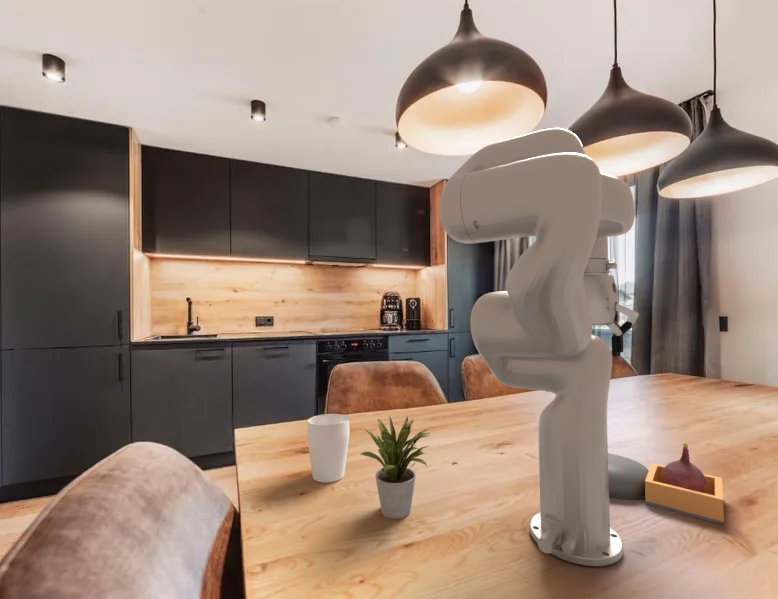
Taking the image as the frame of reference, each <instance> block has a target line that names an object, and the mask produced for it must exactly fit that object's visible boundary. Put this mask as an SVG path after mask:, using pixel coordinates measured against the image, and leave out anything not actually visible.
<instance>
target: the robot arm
mask: <svg viewBox="0 0 778 599" xmlns="http://www.w3.org/2000/svg"><path fill="white" fill-rule="evenodd" d="M438 205H439V207H438V208H439V209H438V210H439V218H440V223H441V225H442V228H443V230H444V231H445V233H446V234H447V236H449V237H450V238H451V239H452V240H453V241H455V242H456V243H460V244H467V245H469V244H479V243H480V244H481V243H489V242H496V241H503V240H511V239H512V240H514V239H520V238H528V237H536V240H535V241H534V242H533V243H532V244H531V245H530V246H529V247H528V248H526V250H524V252H523V253H522V254H521V255H520V256H519V257H518V259H517V260H516V261H515V263H514V264H513V266H512V268H511V269H510V270H509V273H508V275H507V277H506V281H505V287H506V290H502V291H499V290H498V291H492V292H488V293H485V294H483V295H482V296H480V297H479V298H477V300H476V301H475V303H474V304H473V307H472V308H471V309H472V310H471V312H470V332H471V336H472V337H471V338H472V341H473V344H474V347H475V348H476V350H477V352H478V354H479V355H480V356H481V359H482V360H483V361H484V363H485V364H486V365H487V366H486V367H488V368H489V370H490V371H491V373H492V375H493V376H494V378H495V379H496V380H497V381H498V382H499V383H500V384H502V385H503V386H505V387H511V388H514V389H522V390H532V391H533V390H534V391H543V392H547V393H553V394H554V395H555V397H554V399H553V400H552V401H550V402H549V403H548V404H547V405H546V406H545V407H544V409H543V410H541V413H540V415H539V418H538V423H537V424H538V425H537V428H538V429H537V431H538V457H539V458H538V463H539V464H538V466H539V467H538V468H539V470H538V471H539V473H538V474H539V504H540V505H539V508H540V511H539V512H538V513H536V514H535V515H533V517H532V518H531V519H530V522H529V530H530V535H531V537H532V538H533V540H534V541H535V543H537V546H538V548H539V550H540V551H541V552H542V553H545V554H551V555H553V556H555V557H557V558H559V559H561V560H564V561H566V562H568V563H572V564H576V565H582V566H586V567H588V566H589V567H606V566H609V565H613V564H615V563H617V562H619V561H620V560H621V559H622V557H623V555H624V544H623V540H622V539H621V537H620V535H619V534H618V533H617V532H616V531H615V530H614V529H612V527H611V517H610V510H611V509H610V497H609V475H608V453H609V451H608V450H609V445H608V444H609V442H608V404H609V403H608V402H609V392H610V384H611V377H612V368H613V357H615V358H617V357H620V356H621V353H623V352H624V335H625V334H626V333H627V332H628V331H630V330H631V329H632V328H634V325H635V323H636V322H637V320H638V318H639V317H640V313H639V312H638V311H636V310H633V309H631V308H629V307H626V306H624V305H621V304H619V297H618V290H617V284H616V280H615V277H614V275H610V273H611V272H610V271H612V270H616V269H617V266H618V265H617V262H616V261H615V262H613V261H610V260H609V247H608V246H609V245H608V244H609V243H608V242H609V241H608V237H616V236H622V235H625V234H627V233H629V231H631V229H632V227H633V225H634V222H635V217H636V213H635V212H636V210H635V202H634V197H633V193H632V190H631V187H630V185H629V184H628V183H627V182H626V181H625V180H624V179H622V178H620V177H617V176H615V175H611V174H606V173H603V172H600V169H599V167H598V165H597V163H596V162H595V161H594V160H593V158H591V157H590V156H588V155H587V154H586V152H585V149H584V146H583V144H582V141H581V140H580V138H579V137H578V136H577V134H575V133H573V132H572V131H571V130H569V129H567V128H565V129H564V128H561V127H553V128H546V129H540V130H537V131H533V132H529V133H527V134H522V135H519V136H515V137H513V138H508V139H505V140H501V141H497V142H494V143H490V144H488V145H486V146H484V147H482V148H480V149H479V150H477V151H476V152H475V153H474V154H473V155H471V156H470V157H469V158H468V159H467V160H466V161H465V162H464V163H463V164H462V165H461V166H460V167H459V168H458V169H457V170H456V171H455V172H454V173H453V174H452V175H451V176H450V178H448V180H447V181H446V183H445V185H444V187H443V189H442V191H441V194H440V198H439V204H438ZM620 313H621V314H622V315H625V316H627V317H626V318H627V319H626V321H625V322H624V323H622V324H621V325H620V324H619V322H620ZM593 326H607V328H609V329H610V330H611V332H613V335H611V347H610V345H609V344H608V343H607V341H605V339H603V338H602V337H600V336H598V335H596V334H593Z"/></svg>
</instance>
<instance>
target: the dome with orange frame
mask: <svg viewBox="0 0 778 599" xmlns="http://www.w3.org/2000/svg"><path fill="white" fill-rule="evenodd" d="M665 466H666V465H663V464H659V463H654V462H651V465H650V467H649V469H648V468H647V467H646V466H645V465H644V464H642V463H640V462H638V461H636V460H633V459H631V458H629V457H625V456H622V455H619V454H613V453H609V452H608V475H609V498H612V497H613V499H618V498H619V500H620V499H621V500H638V498H639V499H643V498H645V504H647V505H649V506H654V507H657V508H661V509H664V510H668V511H672V512H675V513H678V514H682V515H686V516H690V517H693V518H696V519H697V518H698V519H701V520H704V521H708V522H711V523H715V524H719V525H722V526H725V517H724V516H725V513H724V512H725V511H724V494H723V493H724V491H723V477H720V476H716V475H710V474H706V473H703V474H704V476H705V478H706V482H707V483H706V488H705V490H704V491H703V492H697V491H693V490H689V489H685V488H681V487H677V486H672V485H668V484H667V483H666V482H665V480H664V477H663V470H664V468H665Z"/></svg>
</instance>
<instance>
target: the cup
mask: <svg viewBox="0 0 778 599" xmlns="http://www.w3.org/2000/svg"><path fill="white" fill-rule="evenodd" d="M349 420H350V419H349V416H347V415H345V414H340V413H326V414H325V413H324V414H318V415H315V416H314V415H313V416H311V417H310V418H308V420H307V428H306V429H307V430H306V438H307V444H308V452H309V460H310V466H311V472H312V473H311V474H312V475H311V476H312V478H313V480H314V481H316V482H319V483H325V484H326V483H327V484H328V483H334V482H338V481H339V480H341V479H342V478H343V477H344V476H345V471H346V463H347V456H348V449H349V441H350V434H351V432H350V421H349Z"/></svg>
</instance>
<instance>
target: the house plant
mask: <svg viewBox="0 0 778 599" xmlns="http://www.w3.org/2000/svg"><path fill="white" fill-rule="evenodd" d="M388 420H389V425H390V426H389V428H390V432H389V430H388V428H387V427H386V426H385V424H384V423H383V421H382V420H381V419H379V418H377V422H378V427H379V428H378V429H379V432H380V436H379V435H378V434H376V435H374V433H373V432H371V431H370V430H367V429H364V430H365V431H366V432H367V433H368V434H369V435H370V437H371V440H373V442H374V443H375V445H376V446H377V447H378V448H379V449H377V450H378V454H379V455H380V457H379V455H377V454H376V453H374V452H371V451H362V452H361V453H360V454H359V455H361V456H364V457H368V458H372V459H375V460H377V461H378V462H379V463H380V464H381V465H382V468H380V469H378V470H377V471H376V473H375V480H376V487H377V492H378V498H379V499H378V500H379V504H380V510H381V513H382V515H383V516H384V517H386V518H389V519H395V520H396V519H398V520H399V519H403V518H406V517H407V516H408V515H410V513H411V510H412V502H413V495H414V489H415V481H416V472H415V471H414V470H412V469H411V468H412V467H413V466H414V465H415V464H416V463H417V462H418V463H420V464H422V465H425V467H426V468H427V469H429V468H428V465H427V462H426V461H425V460H424V459H422V458H418V457H419V456H421V455H425V454H426V455H427V453H425V452H423V450H424V449H426V448H429V447H430V445H427V446H426V445H425V446H422V447H420V448H418V447H417V444H416V443H417V442H418V441H419V440H420V439H422V438H426V437H430V436H431V435H430V432H427V431H428V430H432V429H435V428H436V426H432V427H429V428H425V429H423V430H421V431H419V432H418V433H416V435H414V436H413V437H412V438H410V439H408V437H409V436H410V433H411V428H412V424H413V423H414V419H412V420H410V421H409V416H408V415H407V416H406V418H405V420H404V422H403V425H402V426H401V429H400V431H399V433H398V436H397V434H396V433H397V432H396V429H395V427H394V423H393V420H392V418H391V416H390V415H389V418H388ZM428 434H429V435H428ZM413 450H415V451H413ZM412 451H413V452H412ZM410 452H412V453H410ZM381 458H382V459H381ZM411 462H414V463H413V464H412V465H411V466H410V467H409V468H408V466H409V465H410V463H411Z"/></svg>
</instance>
